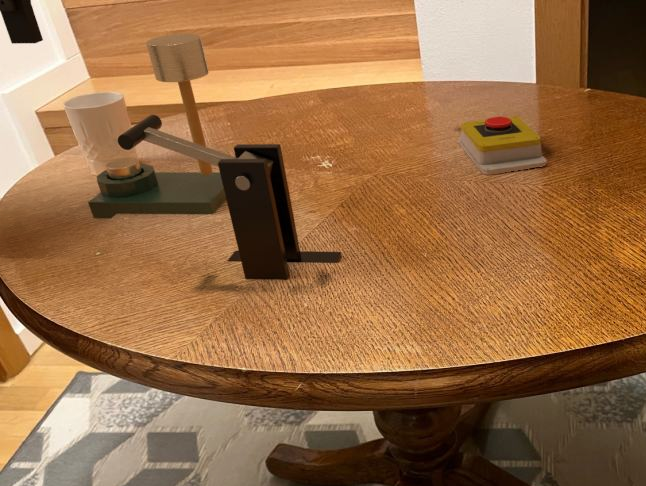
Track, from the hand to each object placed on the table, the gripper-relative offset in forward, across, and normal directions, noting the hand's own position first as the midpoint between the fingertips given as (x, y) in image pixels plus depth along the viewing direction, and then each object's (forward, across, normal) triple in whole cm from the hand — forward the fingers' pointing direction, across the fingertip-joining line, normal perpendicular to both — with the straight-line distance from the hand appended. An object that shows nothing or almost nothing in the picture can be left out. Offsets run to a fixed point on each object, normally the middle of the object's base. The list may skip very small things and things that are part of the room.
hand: (27, 41), depth 79 cm
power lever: (+8, -14, -23) cm, 28 cm away
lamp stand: (+17, +6, -14) cm, 23 cm away
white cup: (+22, +18, +6) cm, 29 cm away
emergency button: (+21, +23, -50) cm, 59 cm away
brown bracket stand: (+21, -14, -28) cm, 38 cm away
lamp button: (+18, +6, -3) cm, 19 cm away
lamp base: (+21, +6, -8) cm, 23 cm away
